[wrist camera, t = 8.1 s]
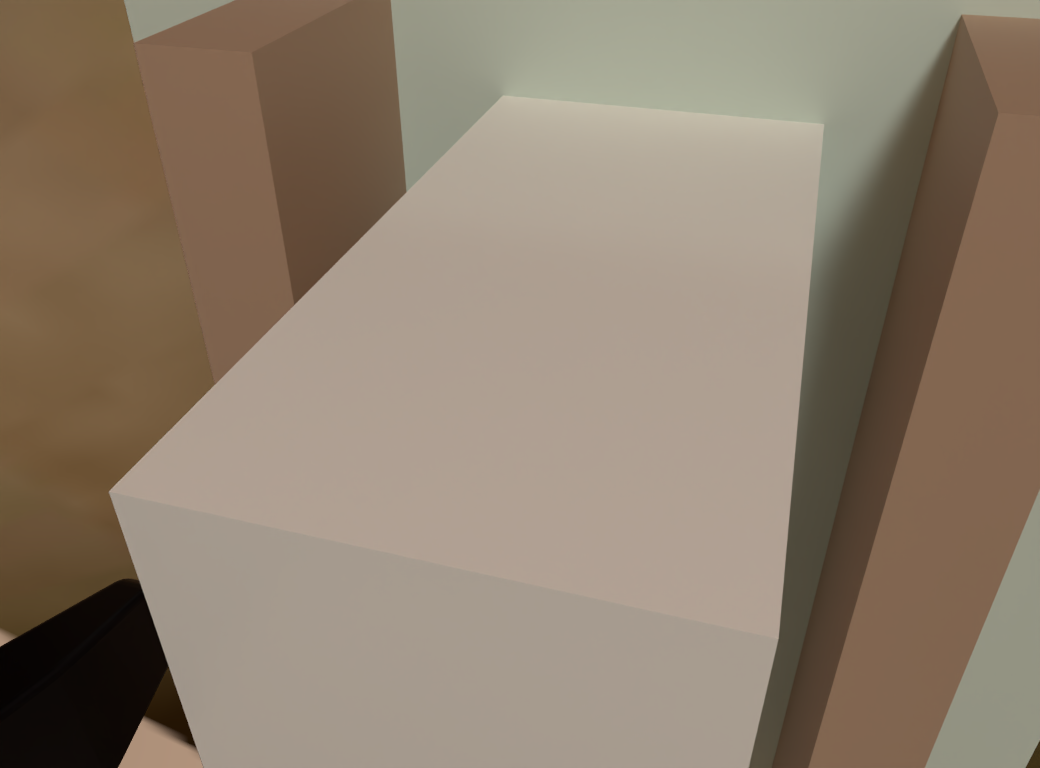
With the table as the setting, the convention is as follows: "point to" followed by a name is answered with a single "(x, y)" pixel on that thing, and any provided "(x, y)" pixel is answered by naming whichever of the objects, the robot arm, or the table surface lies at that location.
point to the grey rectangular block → (505, 463)
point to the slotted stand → (831, 306)
